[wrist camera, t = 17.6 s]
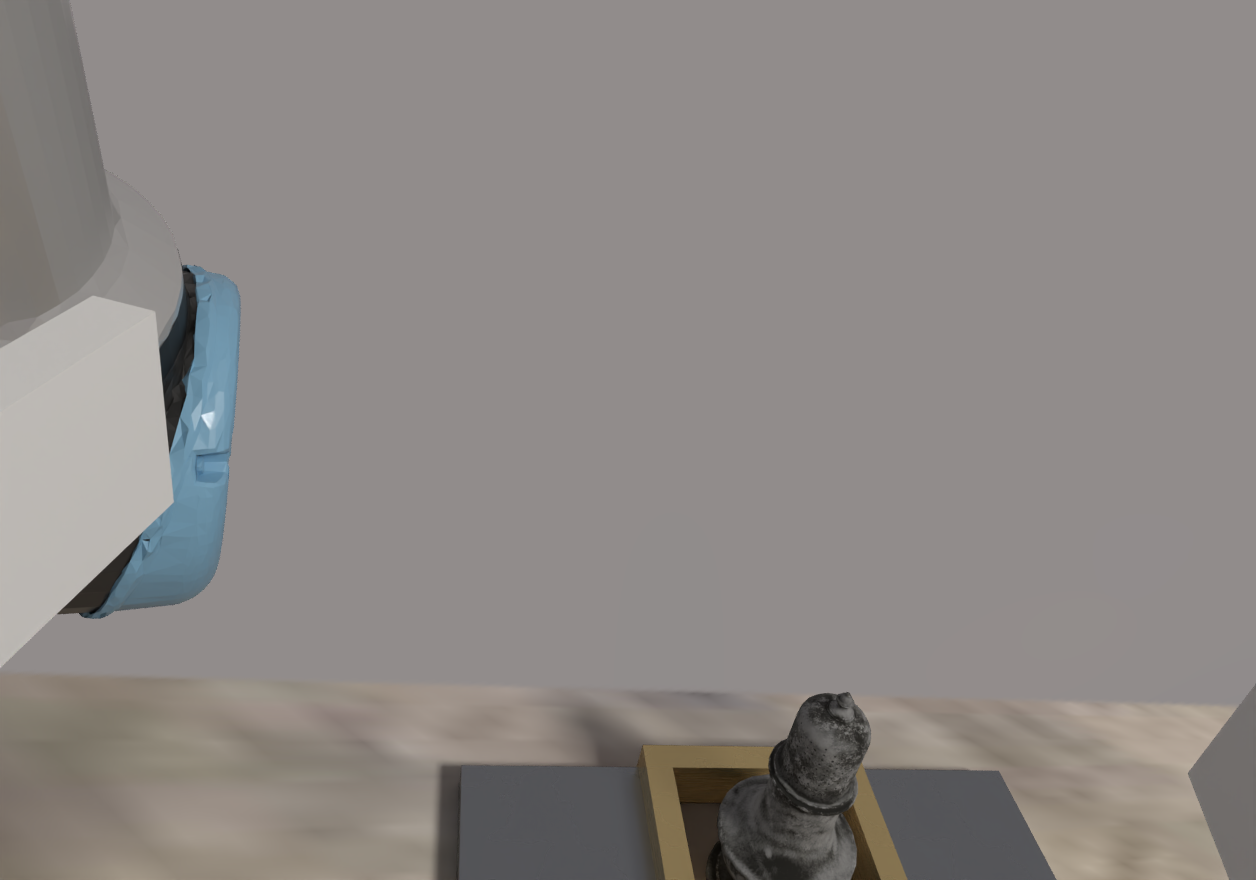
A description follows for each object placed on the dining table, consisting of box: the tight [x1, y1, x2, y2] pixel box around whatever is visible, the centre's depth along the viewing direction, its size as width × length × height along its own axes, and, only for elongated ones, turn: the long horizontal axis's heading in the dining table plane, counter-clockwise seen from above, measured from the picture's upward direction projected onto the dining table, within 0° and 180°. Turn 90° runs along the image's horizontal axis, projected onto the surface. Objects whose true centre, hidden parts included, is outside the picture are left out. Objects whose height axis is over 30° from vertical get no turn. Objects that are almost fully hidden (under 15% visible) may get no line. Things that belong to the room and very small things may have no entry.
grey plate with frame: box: [457, 745, 1056, 880], centre depth 41 cm, size 26×10×2 cm, turn 97°
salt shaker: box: [706, 692, 871, 880], centre depth 38 cm, size 6×6×12 cm
